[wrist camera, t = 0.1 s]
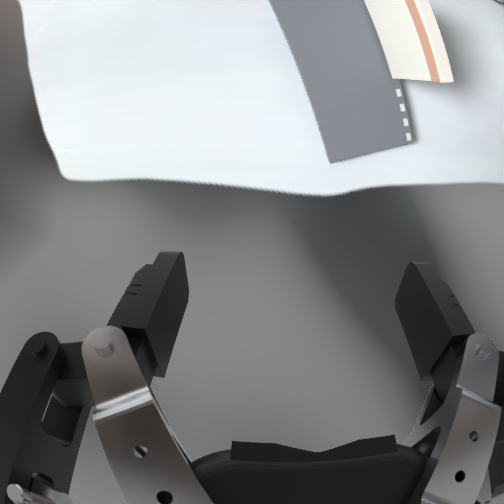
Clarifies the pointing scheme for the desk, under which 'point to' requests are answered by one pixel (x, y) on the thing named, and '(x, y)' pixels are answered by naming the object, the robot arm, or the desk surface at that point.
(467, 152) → the desk surface
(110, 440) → the robot arm
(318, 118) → the board
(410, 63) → the white square panel
